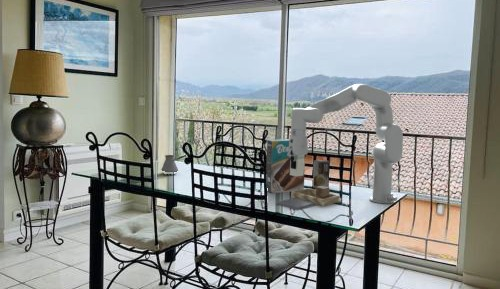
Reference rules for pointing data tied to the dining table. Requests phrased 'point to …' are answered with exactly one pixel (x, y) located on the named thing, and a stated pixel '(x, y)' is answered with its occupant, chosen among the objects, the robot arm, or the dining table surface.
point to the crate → (321, 202)
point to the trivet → (296, 203)
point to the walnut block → (322, 192)
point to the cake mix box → (281, 168)
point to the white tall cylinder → (298, 166)
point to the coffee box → (320, 173)
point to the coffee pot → (170, 164)
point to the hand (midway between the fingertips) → (297, 167)
